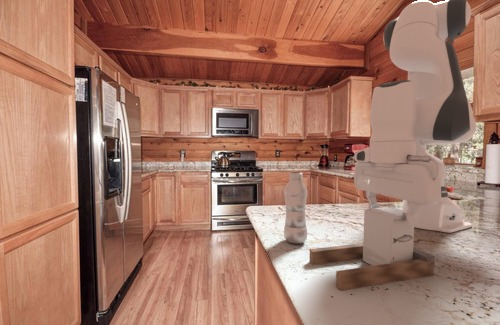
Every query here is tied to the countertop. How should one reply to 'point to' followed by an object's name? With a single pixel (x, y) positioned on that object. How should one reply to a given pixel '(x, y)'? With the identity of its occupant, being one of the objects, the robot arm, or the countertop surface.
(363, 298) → the countertop surface
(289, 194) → the plastic bottle
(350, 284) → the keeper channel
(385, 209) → the supplement box
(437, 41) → the robot arm
